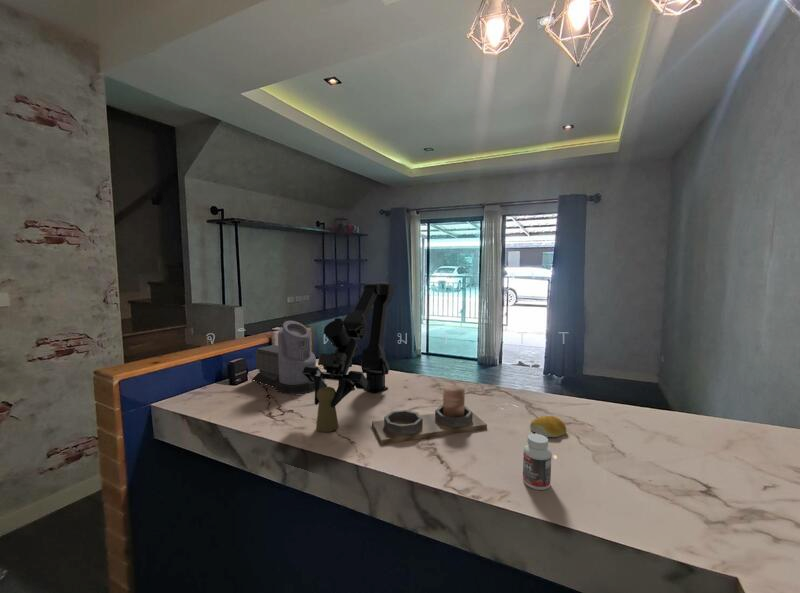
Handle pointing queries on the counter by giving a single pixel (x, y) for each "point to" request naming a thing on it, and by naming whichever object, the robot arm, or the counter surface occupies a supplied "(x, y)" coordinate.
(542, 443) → the pill bottle
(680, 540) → the counter surface
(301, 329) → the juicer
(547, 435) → the bread roll
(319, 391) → the olive green peg
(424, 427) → the rail
